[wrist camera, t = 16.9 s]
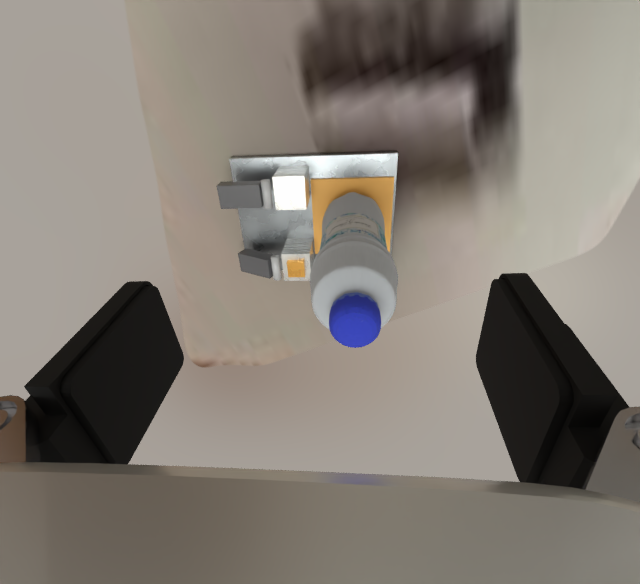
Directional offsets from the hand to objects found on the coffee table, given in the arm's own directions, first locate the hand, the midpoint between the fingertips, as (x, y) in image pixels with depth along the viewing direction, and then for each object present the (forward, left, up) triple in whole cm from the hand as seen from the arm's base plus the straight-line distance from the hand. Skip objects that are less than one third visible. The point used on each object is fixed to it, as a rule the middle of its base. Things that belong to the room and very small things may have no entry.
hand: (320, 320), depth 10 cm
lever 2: (+9, +12, -27) cm, 31 cm away
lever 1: (+9, +4, -26) cm, 28 cm away
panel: (+3, +8, -31) cm, 32 cm away
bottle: (-1, +8, -30) cm, 31 cm away
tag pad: (-1, +8, -30) cm, 31 cm away
